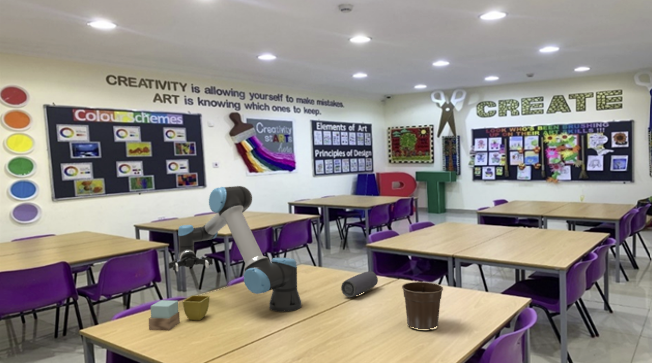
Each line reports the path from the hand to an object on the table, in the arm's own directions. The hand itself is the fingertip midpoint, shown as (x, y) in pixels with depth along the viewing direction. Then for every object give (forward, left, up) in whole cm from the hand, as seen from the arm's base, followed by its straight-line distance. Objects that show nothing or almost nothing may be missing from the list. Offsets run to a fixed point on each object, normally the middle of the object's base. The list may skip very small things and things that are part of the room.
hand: (192, 267), depth 205 cm
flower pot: (-5, +9, -21) cm, 23 cm away
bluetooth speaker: (-75, -32, -21) cm, 84 cm away
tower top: (+5, +18, -16) cm, 25 cm away
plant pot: (-103, +12, -21) cm, 106 cm away
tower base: (+5, +18, -21) cm, 29 cm away
